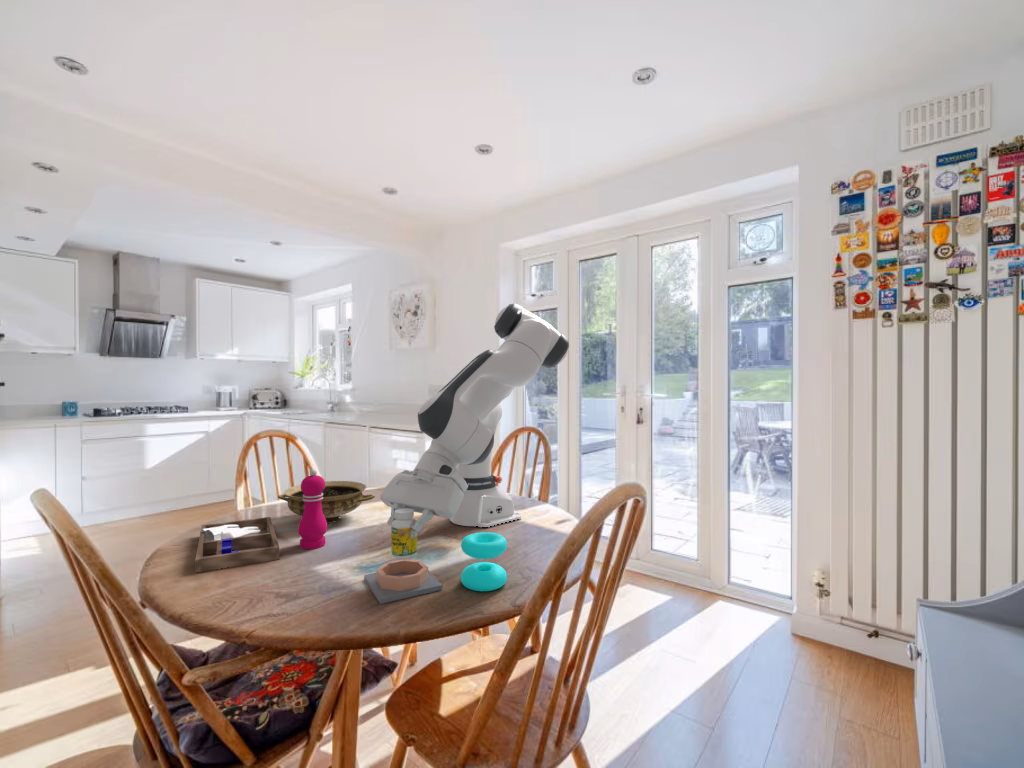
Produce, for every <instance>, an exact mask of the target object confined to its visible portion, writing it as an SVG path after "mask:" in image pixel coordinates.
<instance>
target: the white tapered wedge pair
mask: <svg viewBox="0 0 1024 768" xmlns="http://www.w3.org/2000/svg"><path fill="white" fill-rule="evenodd" d="M200 532H205V542H206V541H213V540H220V539H227V538H235V537H242V536H249V535H256V534H261V529H259V528H258V527H244V528H239V525H223V526H220V527H213V528H206V529H201V528H200Z"/></svg>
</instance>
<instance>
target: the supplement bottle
mask: <svg viewBox="0 0 1024 768" xmlns="http://www.w3.org/2000/svg"><path fill="white" fill-rule="evenodd" d="M414 513H415V512H414V510H413V509H410V508H403V509H397V510H395V515H394V516H395V518H396V519H395V520H394V521H393V522H392V525H391V556H392V558H394V559H396V560H401V559H412V558H414V557H416V556H417V554H418V532H416V531H412V529H411V528H410V526H411V524H412V522H413V520H416V519H415V518H414V517H415V516H414V515H415V514H414Z"/></svg>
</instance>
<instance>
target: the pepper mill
mask: <svg viewBox="0 0 1024 768" xmlns="http://www.w3.org/2000/svg"><path fill="white" fill-rule="evenodd" d="M300 484H301V490H302V492H303V493H304V495H303V501H304V503H305V507H304V513H303V516H301V519H299V520H300V521H299V522H298V527H297V534H298V535H299V536H300V537H301V538H300V539H299V548H300V549H304V550H314V549H315V550H316V549H320V548H322V547H324V546H325V545H326V536H324V535H325V534H326V533H327V531H328V523H327V522H326V519H325V517H324V514H323V512H322V507H321V501H322V499H323V493H322V491H323V490H324V488H325V479H324V478H323V477H322V476H320V475H318V471H317V470H316V469H311V470H310V471H309V475H308V476H306V477H304V478H303V479H302V481H301V482H300Z"/></svg>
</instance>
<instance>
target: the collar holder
mask: <svg viewBox="0 0 1024 768" xmlns="http://www.w3.org/2000/svg"><path fill="white" fill-rule="evenodd" d="M375 571H376V572H373V573H369V574H368V573H367V574H364V576H363V580H364V582H365V583H366V584H367V586H368V588H369V590H370V591H371V592H372V593H373V595H374V597H375V598H376V600H377V601H378V602H379V604H380V605H382V604H387V603H390V602H395V601H399V600H404V599H408V598H412V597H416V596H417V597H418V596H422V595H425V594H426V595H427V594H429V593H430V594H431V593H434V592H437V591H442V590H443V584H442V583H441V582H440V581H439V580H438V579H437V578H436V577H435V576H434V575H433V574H432V572H430V571H429V567H428V565H426V564H425V563H424V561H422V560H416V559H411V558H409V559H396V560H391V561H387V562H385V563H383V564H382V565H380V566H379V567H378V568H377V569H376V570H375Z"/></svg>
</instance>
